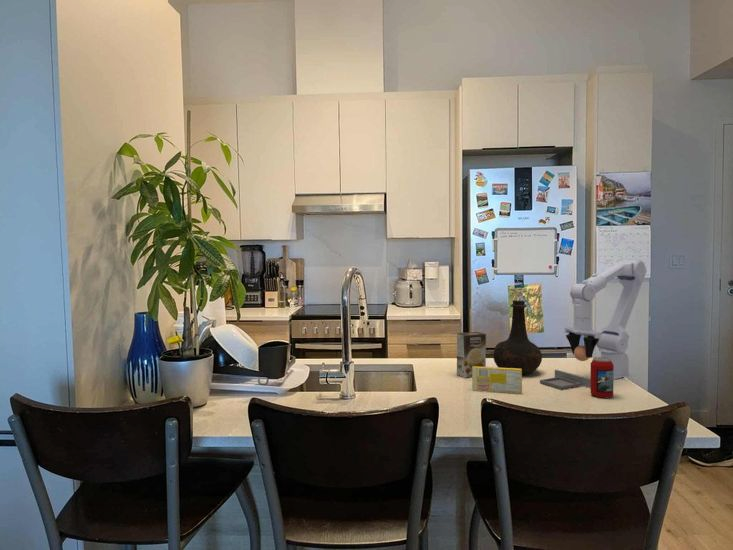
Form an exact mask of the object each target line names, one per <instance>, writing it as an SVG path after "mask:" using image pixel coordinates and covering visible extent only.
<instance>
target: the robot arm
mask: <svg viewBox="0 0 733 550" xmlns="http://www.w3.org/2000/svg"><path fill="white" fill-rule="evenodd" d="M647 271H648V270H647V268H646V265H645V262H644V261H643V260H642V259H641V260H640V259H637V260H630V259H629V260H624V259H623V260H622V259H617V260H615V262H612V264H611V266H610V267H608V268H607V269H606V270H605V271H603V272H602V273H601V274H599V273H593V274H591V275H590V277H589V278H587V279H584V280H582V282H581V283H575V284H574V285H572V287H571V289H570V290H569V295H570V297H571V301H572V305H573V327H570V326H564V333H565V334H566V335H565V338H566V339H567V341H568V343H569V345H570V348H571V352H572V355H574V350H575V348H576V347H578V346H580V341H581V337H582V336H583V338H582V339H583V342H584V346H585V347H586V357H589V358H592V357H593V354H594V351H595V348H596V347H597V349H598V351H599V352H600V357H603V358H609V359H611V361H612V363H613V365H614V380H617V379H623V378H627V377H628V378H629V377H631V374H630V372H629V371H630V369H629V365H630V364H629V361H630V360H629V356H628V354H627V353H626V351H627V349H628V346H629V339H630V334H629V333H628V332H627V331H626V327H627V326H628V325H627V324H628V323H629V322H628V321H629V319H630V317H631V314H632V311H633V309H634V306H635V305H636V304H635V303H636V301H637V298H638V295H639V292H640V290H641V287H642V285H643V282H644V280H645V277H646V274H647ZM615 278H616V279H617V280H618V282H619V283H620V285H622V286H623V287H622V290H621V293H620V295H619V298H618V300H617V301H618V302H617V303H616V306H615V309H614V311H613V314H612V315H611V316H612V317H611V319H610V322H609V324H608V325H606V326H604V327H602V328H601V330H600V331H597V330H592V300H594V298H595V296H596V295H597V293H599V292H601V291H602V290H603V289H605V288H606V287H607V283H608V282H610V281H612V280H614V279H615ZM622 377H623V378H622Z"/></svg>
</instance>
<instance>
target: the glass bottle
mask: <svg viewBox="0 0 733 550" xmlns="http://www.w3.org/2000/svg"><path fill="white" fill-rule="evenodd" d="M527 306H528V305H526V304H525V300H516V299H515V300H512V304H510V307H511V308H512V314H511V326H510V331H509V332H510V333H509V336H508V338H507V339H506V340H504V341H500V342H498V343H497V344H496V345H495V347H494V349H493V353H492V354H493V355H492V356H493V361H494V363H495V365H496V366H497V368H517V369H522V376H527V375H530V374H532V373H535V371H537V370H538V368H540V366H541V364H542V361H543V355H542V351H541V349H540V347H538V345H537V344H535V343H533V342H532V341H530V339H529V337H528V333H527V326H526V315H525V314H526V313H525V310H526V309H525V308H527Z"/></svg>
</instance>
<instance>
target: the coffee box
mask: <svg viewBox="0 0 733 550" xmlns="http://www.w3.org/2000/svg"><path fill="white" fill-rule="evenodd" d="M486 347H487V334H486V333H483V332H478V331H473V332H472V331H471V332H469V331H468V332H457V333H456V375H457V374H458V375H457V376H459V375H460V377H461V376H462V378H463V377H464V379H468V378H467V377H471V378H472V367H473V366H477V367H487V366H486V365H487V363H486V362H487V361H486V359H487V357H486V356H487V355H486V354H487V352H486V351H487V350H486V349H487V348H486Z"/></svg>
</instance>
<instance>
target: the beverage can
mask: <svg viewBox="0 0 733 550" xmlns="http://www.w3.org/2000/svg"><path fill="white" fill-rule="evenodd" d="M589 372H590V377H589V378H590V388H589V390H590V394H591V395H593V396H594V397H595V396H596V398H599V397H602V398H601V399H608V398H607V397H609V398H611V397H613V395H614V383H615V382H614V380H615V379H614V365H613V363H612V361H611V359H609V358H603V357H601V356H599V357H593V358H592V360H591V361H590V371H589Z"/></svg>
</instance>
